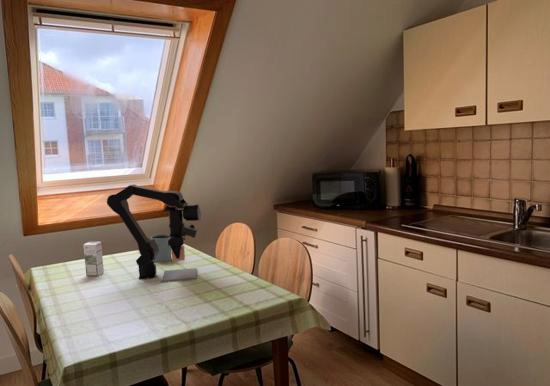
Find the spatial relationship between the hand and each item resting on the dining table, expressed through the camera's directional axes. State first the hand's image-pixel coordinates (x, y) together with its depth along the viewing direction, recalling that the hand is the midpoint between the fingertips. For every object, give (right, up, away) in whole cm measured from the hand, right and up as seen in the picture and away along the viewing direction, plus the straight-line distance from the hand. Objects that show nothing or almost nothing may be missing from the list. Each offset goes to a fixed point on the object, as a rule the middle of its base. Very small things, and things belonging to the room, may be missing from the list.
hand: (178, 256), depth 191 cm
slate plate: (0, -8, +1) cm, 8 cm away
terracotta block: (0, -1, 0) cm, 1 cm away
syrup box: (-39, -9, +8) cm, 41 cm away
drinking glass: (-14, -6, +28) cm, 32 cm away
